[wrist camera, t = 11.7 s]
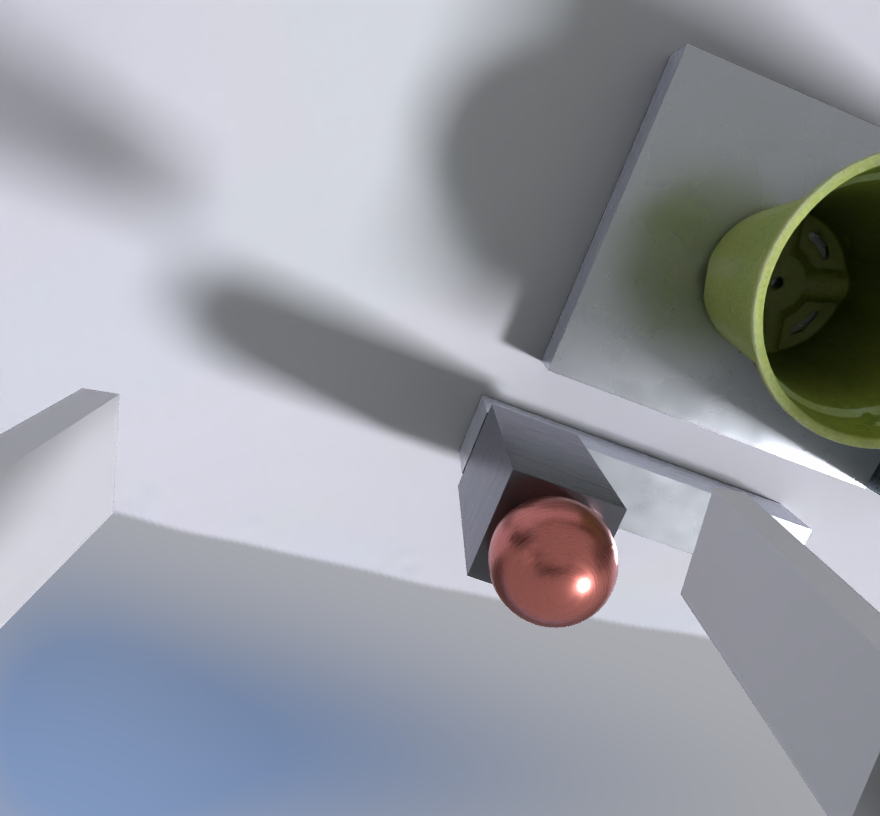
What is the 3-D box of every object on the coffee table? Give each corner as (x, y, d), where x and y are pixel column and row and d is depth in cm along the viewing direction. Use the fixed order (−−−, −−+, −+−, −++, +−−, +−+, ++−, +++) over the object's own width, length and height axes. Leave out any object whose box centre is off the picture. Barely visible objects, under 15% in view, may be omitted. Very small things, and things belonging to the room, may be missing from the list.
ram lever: (458, 485, 31) (472, 630, 20) (491, 403, 30) (526, 509, 19) (541, 514, 32) (599, 672, 21) (577, 435, 31) (657, 556, 20)
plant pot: (796, 113, 28) (949, 71, 20) (926, 283, 30) (1116, 310, 22) (619, 276, 30) (691, 301, 22) (752, 428, 32) (867, 504, 24)
